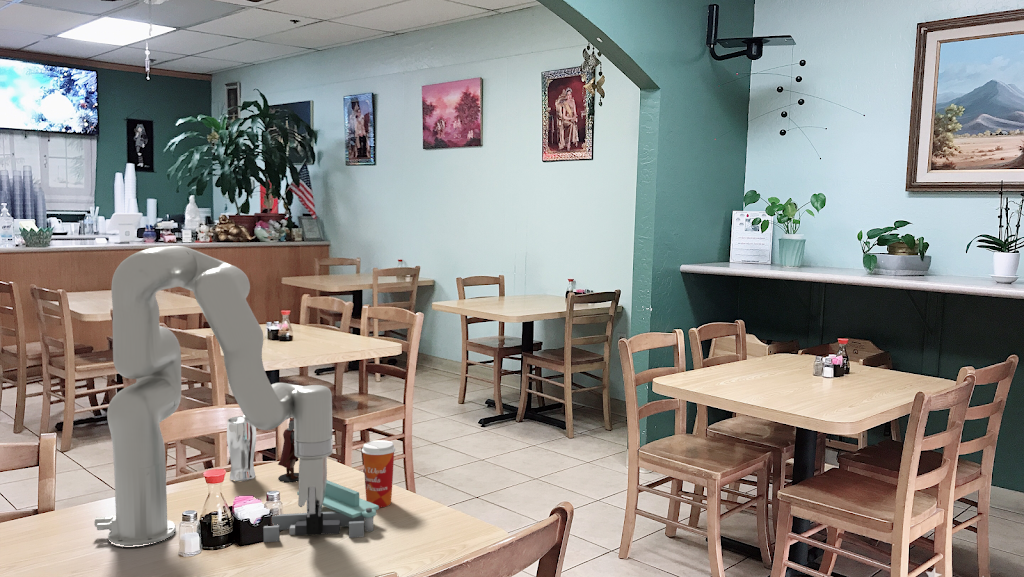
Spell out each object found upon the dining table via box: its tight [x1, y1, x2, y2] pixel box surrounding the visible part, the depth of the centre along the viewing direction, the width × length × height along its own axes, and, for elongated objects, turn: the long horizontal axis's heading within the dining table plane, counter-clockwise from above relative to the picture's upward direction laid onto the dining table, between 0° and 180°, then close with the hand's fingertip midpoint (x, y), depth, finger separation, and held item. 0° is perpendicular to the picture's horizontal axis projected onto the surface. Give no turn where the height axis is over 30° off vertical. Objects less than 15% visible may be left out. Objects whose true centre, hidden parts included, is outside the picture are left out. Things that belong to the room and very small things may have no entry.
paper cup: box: [361, 439, 397, 509], centre depth 181 cm, size 8×8×14 cm
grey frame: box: [262, 511, 374, 543], centre depth 165 cm, size 22×7×3 cm, turn 99°
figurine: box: [277, 418, 300, 483], centre depth 197 cm, size 7×7×15 cm
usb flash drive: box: [289, 520, 342, 536], centre depth 165 cm, size 10×3×2 cm, turn 96°
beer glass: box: [226, 415, 257, 482], centre depth 197 cm, size 7×7×15 cm
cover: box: [296, 479, 380, 518], centre depth 172 cm, size 22×7×4 cm, turn 49°
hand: (314, 533), depth 162 cm, fingers closed
